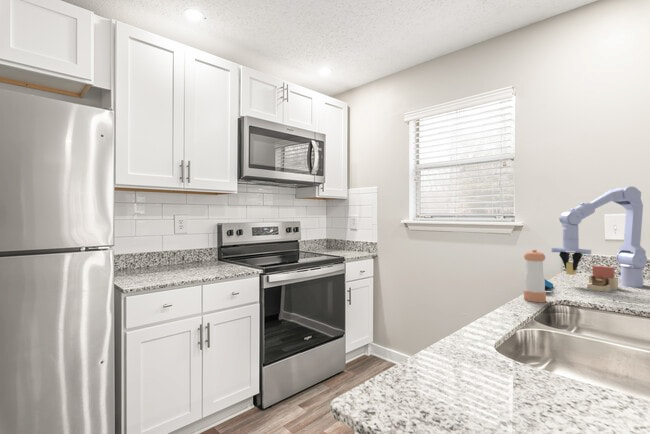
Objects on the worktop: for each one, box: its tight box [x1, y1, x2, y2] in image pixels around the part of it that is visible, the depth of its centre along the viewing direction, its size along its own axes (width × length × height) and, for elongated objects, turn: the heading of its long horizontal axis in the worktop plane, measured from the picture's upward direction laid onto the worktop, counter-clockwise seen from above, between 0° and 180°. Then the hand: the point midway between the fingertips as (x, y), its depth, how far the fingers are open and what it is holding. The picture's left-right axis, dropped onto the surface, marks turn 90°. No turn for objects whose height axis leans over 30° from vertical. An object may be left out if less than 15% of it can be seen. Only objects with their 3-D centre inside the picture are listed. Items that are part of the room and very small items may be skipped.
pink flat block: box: [592, 265, 616, 279], centre depth 153 cm, size 2×7×5 cm, turn 38°
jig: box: [583, 274, 620, 293], centre depth 152 cm, size 14×9×5 cm, turn 128°
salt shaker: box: [523, 249, 547, 303], centre depth 135 cm, size 7×7×19 cm
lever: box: [544, 278, 554, 289], centre depth 152 cm, size 7×7×18 cm
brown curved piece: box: [590, 274, 609, 286], centre depth 152 cm, size 12×4×6 cm, turn 128°
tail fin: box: [565, 261, 577, 276], centre depth 157 cm, size 3×2×5 cm
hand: (570, 269), depth 157 cm, fingers closed on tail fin, 2 cm apart
